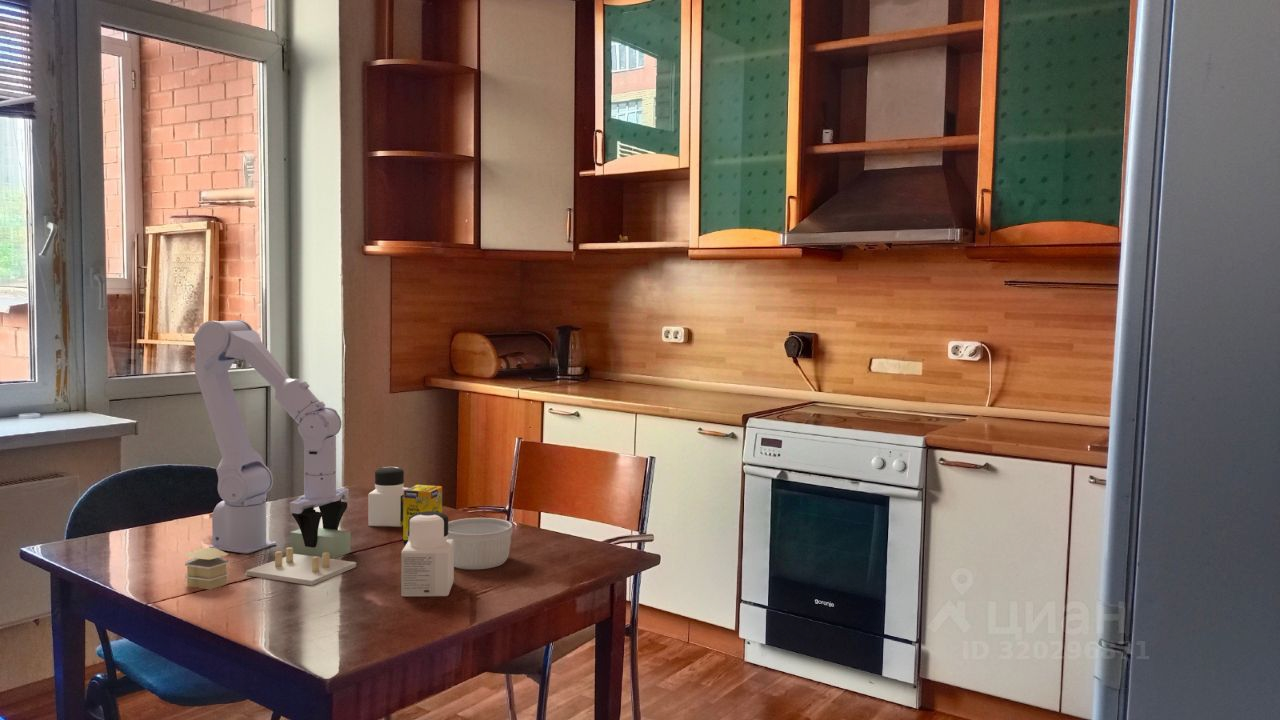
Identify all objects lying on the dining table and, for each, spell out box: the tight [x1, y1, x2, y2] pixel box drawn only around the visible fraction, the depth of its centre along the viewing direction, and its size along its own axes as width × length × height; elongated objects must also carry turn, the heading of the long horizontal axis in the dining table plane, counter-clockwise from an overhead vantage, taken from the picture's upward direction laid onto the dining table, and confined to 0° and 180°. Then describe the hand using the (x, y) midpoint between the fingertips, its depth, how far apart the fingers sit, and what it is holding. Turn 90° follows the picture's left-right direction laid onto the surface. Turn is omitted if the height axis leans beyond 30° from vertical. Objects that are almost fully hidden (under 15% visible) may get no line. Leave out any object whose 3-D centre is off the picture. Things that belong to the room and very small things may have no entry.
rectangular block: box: [289, 527, 352, 560], centre depth 178 cm, size 10×5×4 cm, turn 70°
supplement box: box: [402, 484, 443, 545], centre depth 187 cm, size 6×6×11 cm
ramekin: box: [448, 517, 514, 570], centre depth 174 cm, size 13×13×7 cm
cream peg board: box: [245, 546, 357, 586], centre depth 166 cm, size 14×12×3 cm
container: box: [400, 511, 455, 597], centre depth 156 cm, size 8×8×13 cm
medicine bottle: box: [367, 466, 410, 528], centre depth 202 cm, size 7×7×12 cm
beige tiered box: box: [184, 547, 230, 590], centre depth 157 cm, size 10×9×6 cm
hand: (320, 543), depth 178 cm, fingers closed on rectangular block, 5 cm apart
